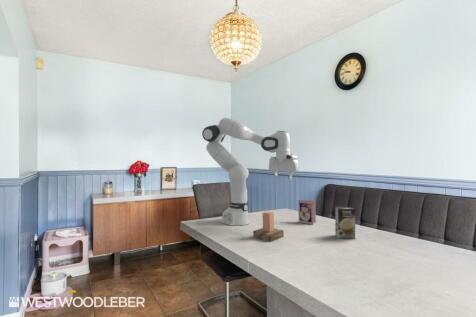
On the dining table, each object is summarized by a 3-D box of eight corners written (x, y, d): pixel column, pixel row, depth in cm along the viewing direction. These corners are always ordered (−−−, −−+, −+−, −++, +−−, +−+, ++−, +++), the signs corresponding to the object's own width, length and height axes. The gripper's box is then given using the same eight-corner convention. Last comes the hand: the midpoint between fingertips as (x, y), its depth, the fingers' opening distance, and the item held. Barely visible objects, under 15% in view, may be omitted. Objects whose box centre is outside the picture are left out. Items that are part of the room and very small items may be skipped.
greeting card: (297, 222, 181) (297, 200, 181) (303, 220, 186) (303, 199, 186) (312, 225, 173) (312, 202, 173) (318, 223, 178) (318, 200, 178)
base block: (253, 238, 146) (253, 231, 146) (266, 233, 155) (266, 226, 155) (271, 242, 138) (271, 235, 138) (283, 237, 147) (283, 230, 147)
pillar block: (262, 230, 146) (262, 212, 147) (267, 229, 150) (266, 211, 150) (270, 232, 144) (269, 213, 144) (274, 230, 147) (273, 212, 148)
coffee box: (338, 238, 144) (338, 208, 144) (335, 235, 150) (334, 206, 150) (355, 238, 143) (355, 209, 143) (351, 235, 149) (351, 206, 149)
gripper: (266, 156, 171) (266, 178, 171) (294, 156, 157) (294, 179, 157) (272, 156, 175) (272, 177, 175) (299, 156, 162) (300, 178, 162)
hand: (283, 178), depth 166 cm, fingers open, 8 cm apart
